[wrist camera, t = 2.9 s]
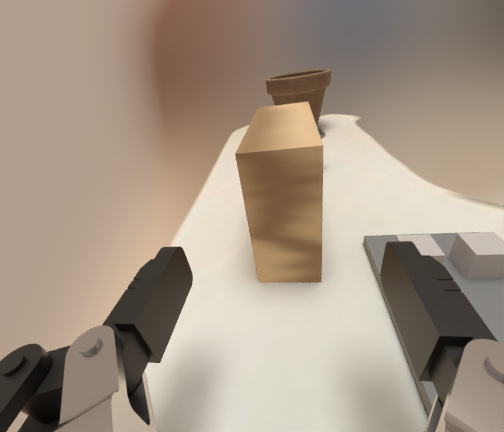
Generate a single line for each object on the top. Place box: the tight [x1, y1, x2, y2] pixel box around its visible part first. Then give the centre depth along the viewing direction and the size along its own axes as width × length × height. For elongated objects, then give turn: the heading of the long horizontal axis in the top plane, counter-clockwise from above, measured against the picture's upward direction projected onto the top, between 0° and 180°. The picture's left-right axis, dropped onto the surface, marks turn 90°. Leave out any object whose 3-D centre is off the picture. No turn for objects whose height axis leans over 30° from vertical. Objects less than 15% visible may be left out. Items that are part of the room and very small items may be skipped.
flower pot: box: [266, 69, 331, 125], centre depth 47 cm, size 12×11×10 cm
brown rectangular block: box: [235, 102, 323, 282], centre depth 20 cm, size 4×12×10 cm, turn 173°
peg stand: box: [364, 232, 504, 417], centre depth 13 cm, size 8×15×3 cm, turn 173°
